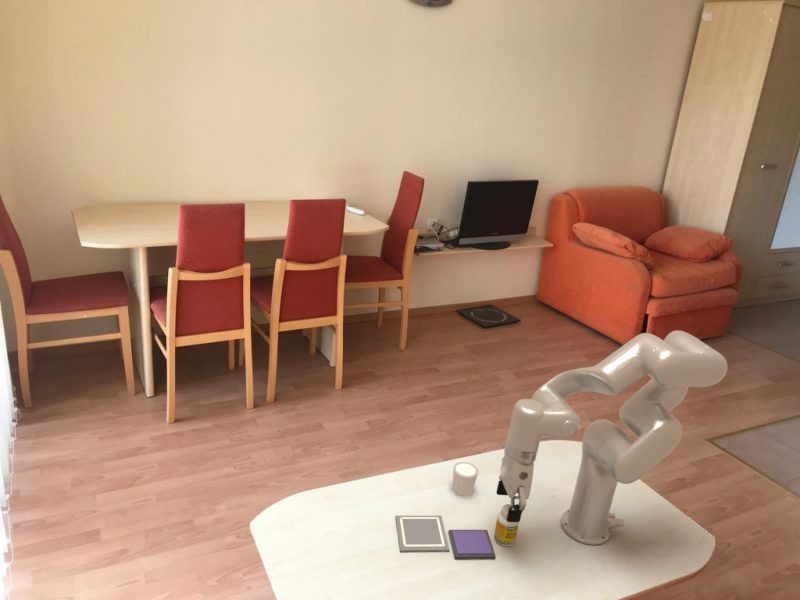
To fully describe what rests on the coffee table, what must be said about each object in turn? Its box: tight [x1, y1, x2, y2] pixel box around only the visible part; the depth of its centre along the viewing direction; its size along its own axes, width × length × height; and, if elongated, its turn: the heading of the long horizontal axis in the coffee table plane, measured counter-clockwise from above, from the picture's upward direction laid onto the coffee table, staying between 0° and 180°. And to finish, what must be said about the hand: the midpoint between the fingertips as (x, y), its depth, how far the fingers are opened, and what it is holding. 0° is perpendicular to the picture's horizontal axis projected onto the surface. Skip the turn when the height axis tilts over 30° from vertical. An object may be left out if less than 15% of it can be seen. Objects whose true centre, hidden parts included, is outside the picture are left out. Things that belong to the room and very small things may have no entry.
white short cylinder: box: [452, 461, 479, 497], centre depth 174 cm, size 7×7×7 cm
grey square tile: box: [395, 515, 450, 553], centre depth 158 cm, size 12×12×1 cm
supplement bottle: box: [493, 503, 520, 547], centre depth 157 cm, size 5×5×10 cm
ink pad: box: [447, 529, 496, 561], centre depth 156 cm, size 10×9×1 cm
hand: (507, 507), depth 155 cm, fingers open, 9 cm apart
